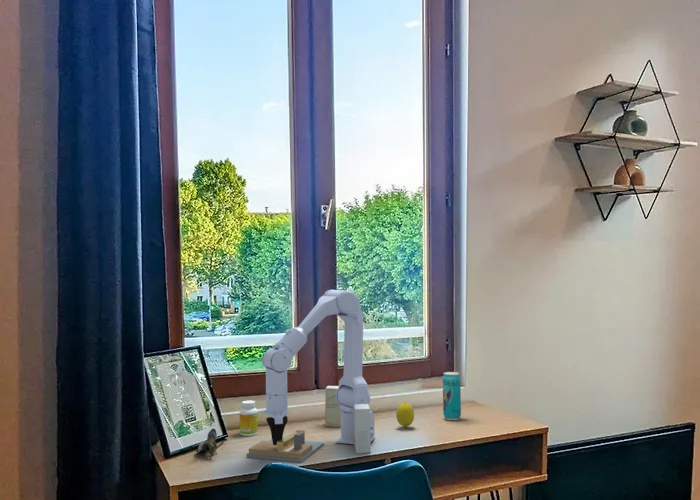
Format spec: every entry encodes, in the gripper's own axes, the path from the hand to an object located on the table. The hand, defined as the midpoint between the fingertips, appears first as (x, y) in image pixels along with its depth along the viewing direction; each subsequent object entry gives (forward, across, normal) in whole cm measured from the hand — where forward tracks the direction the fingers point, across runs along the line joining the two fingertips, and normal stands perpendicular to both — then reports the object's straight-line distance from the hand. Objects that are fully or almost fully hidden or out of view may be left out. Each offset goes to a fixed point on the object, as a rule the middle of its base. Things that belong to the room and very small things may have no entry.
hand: (277, 444), depth 165 cm
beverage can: (+3, -26, +59) cm, 65 cm away
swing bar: (+2, -2, +4) cm, 5 cm away
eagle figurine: (+3, -5, -18) cm, 19 cm away
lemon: (+3, -19, +41) cm, 46 cm away
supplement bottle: (+3, -24, -7) cm, 25 cm away
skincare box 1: (+3, -28, +20) cm, 35 cm away
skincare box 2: (+3, 0, +23) cm, 24 cm away
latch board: (+3, -4, +3) cm, 6 cm away
